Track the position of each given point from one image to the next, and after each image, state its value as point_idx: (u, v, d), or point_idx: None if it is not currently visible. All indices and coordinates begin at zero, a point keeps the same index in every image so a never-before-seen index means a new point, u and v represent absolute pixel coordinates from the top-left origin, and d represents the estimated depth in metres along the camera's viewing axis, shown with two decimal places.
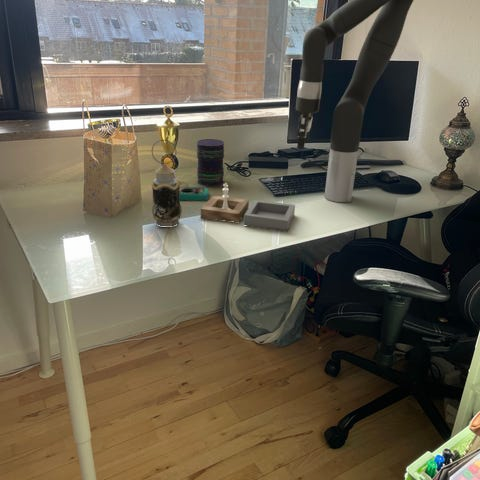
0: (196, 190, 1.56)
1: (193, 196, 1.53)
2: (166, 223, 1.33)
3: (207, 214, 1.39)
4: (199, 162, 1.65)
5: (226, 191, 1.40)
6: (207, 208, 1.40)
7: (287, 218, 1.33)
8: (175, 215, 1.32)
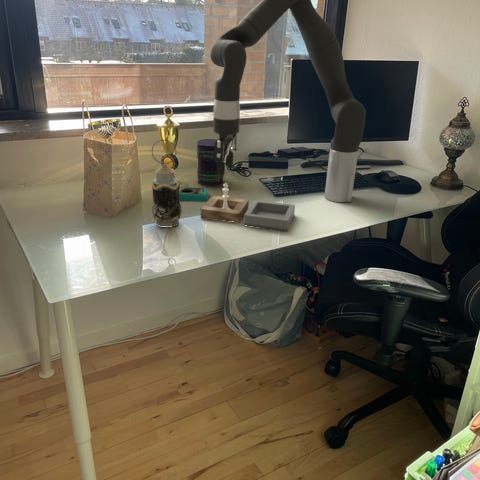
0: (196, 190, 1.56)
1: (192, 196, 1.53)
2: (166, 223, 1.33)
3: (207, 214, 1.39)
4: (199, 162, 1.65)
5: (226, 191, 1.40)
6: (207, 208, 1.40)
7: (287, 218, 1.33)
8: (175, 215, 1.32)
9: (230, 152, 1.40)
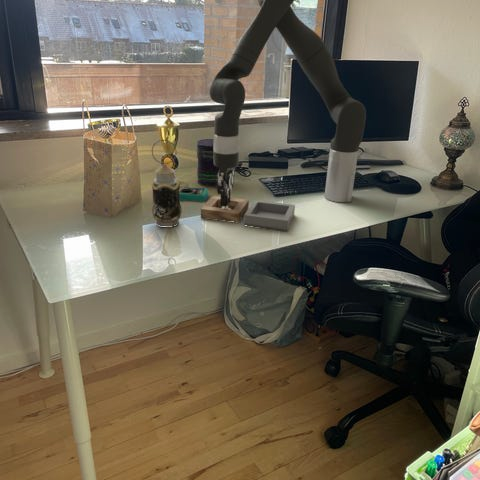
0: (195, 191, 1.56)
1: (191, 196, 1.53)
2: (166, 223, 1.33)
3: (207, 214, 1.39)
4: (199, 162, 1.65)
5: None
6: (207, 208, 1.40)
7: (287, 218, 1.33)
8: (175, 215, 1.32)
9: (227, 189, 1.42)
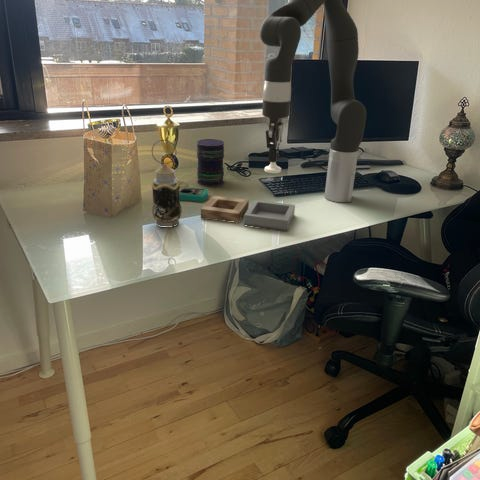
0: (195, 191, 1.56)
1: (190, 197, 1.53)
2: (166, 223, 1.33)
3: (207, 214, 1.39)
4: (199, 162, 1.65)
5: None
6: (207, 208, 1.40)
7: (287, 218, 1.33)
8: (175, 215, 1.32)
9: None
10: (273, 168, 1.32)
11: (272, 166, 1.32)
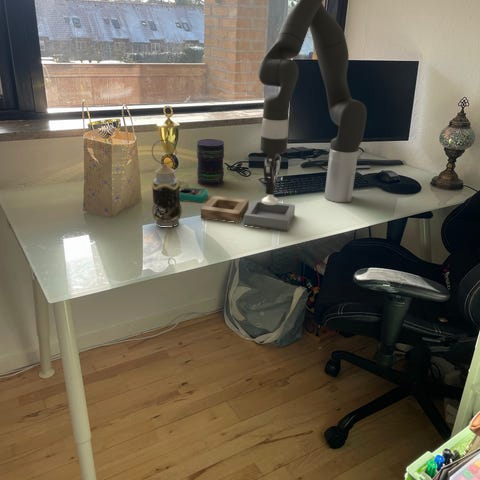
0: (195, 191, 1.55)
1: (189, 197, 1.52)
2: (166, 223, 1.33)
3: (207, 214, 1.39)
4: (199, 162, 1.65)
5: None
6: (207, 208, 1.40)
7: (287, 218, 1.33)
8: (175, 215, 1.32)
9: None
10: (270, 200, 1.36)
11: (269, 198, 1.36)
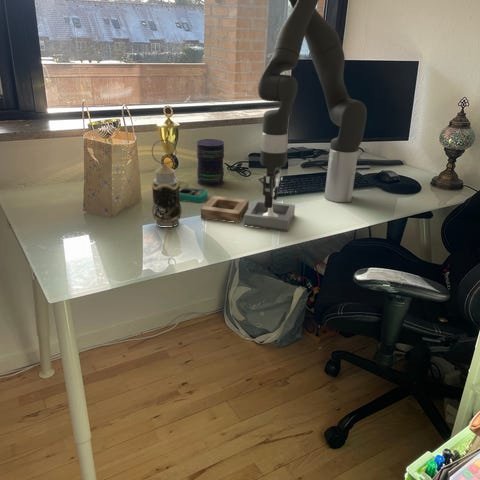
0: (194, 191, 1.55)
1: (189, 197, 1.52)
2: (166, 223, 1.33)
3: (207, 214, 1.39)
4: (199, 162, 1.65)
5: None
6: (207, 208, 1.40)
7: (287, 218, 1.33)
8: (175, 215, 1.32)
9: None
10: None
11: (269, 214, 1.39)
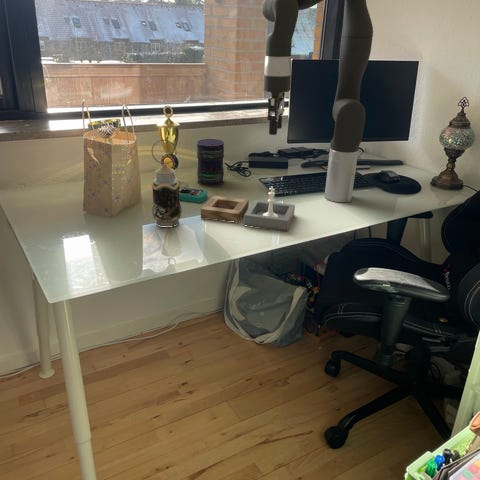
0: (194, 192, 1.55)
1: (188, 197, 1.52)
2: (166, 223, 1.33)
3: (207, 214, 1.39)
4: (199, 162, 1.65)
5: (272, 195, 1.36)
6: (207, 208, 1.40)
7: (287, 218, 1.33)
8: (175, 215, 1.32)
9: None
10: None
11: (269, 214, 1.39)
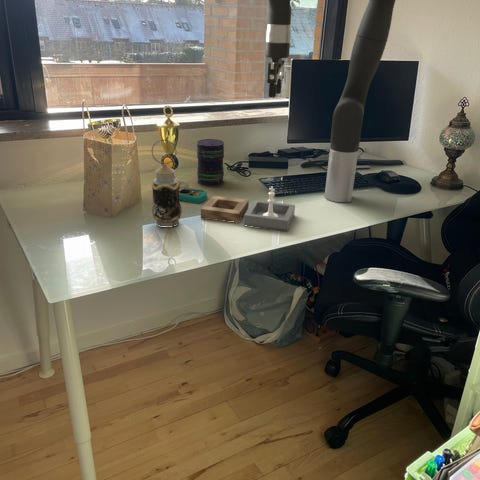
0: (193, 192, 1.55)
1: (187, 197, 1.52)
2: (166, 223, 1.33)
3: (207, 214, 1.39)
4: (199, 162, 1.65)
5: (272, 195, 1.36)
6: (207, 208, 1.40)
7: (287, 218, 1.33)
8: (175, 215, 1.32)
9: (278, 79, 1.50)
10: None
11: (269, 214, 1.39)
